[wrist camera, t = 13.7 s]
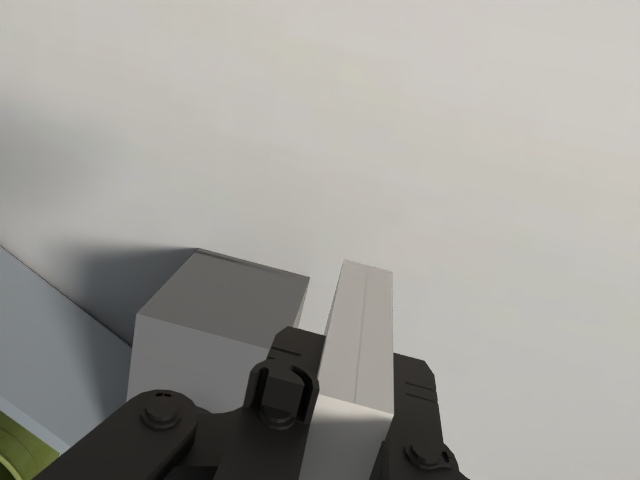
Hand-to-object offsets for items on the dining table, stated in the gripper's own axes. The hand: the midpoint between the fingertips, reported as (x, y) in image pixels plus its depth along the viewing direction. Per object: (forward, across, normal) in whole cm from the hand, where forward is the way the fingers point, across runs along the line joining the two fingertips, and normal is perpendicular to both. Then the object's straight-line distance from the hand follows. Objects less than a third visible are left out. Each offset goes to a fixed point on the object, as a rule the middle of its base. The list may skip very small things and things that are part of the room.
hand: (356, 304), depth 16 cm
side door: (+26, +23, +22) cm, 41 cm away
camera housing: (+26, +8, +19) cm, 33 cm away
